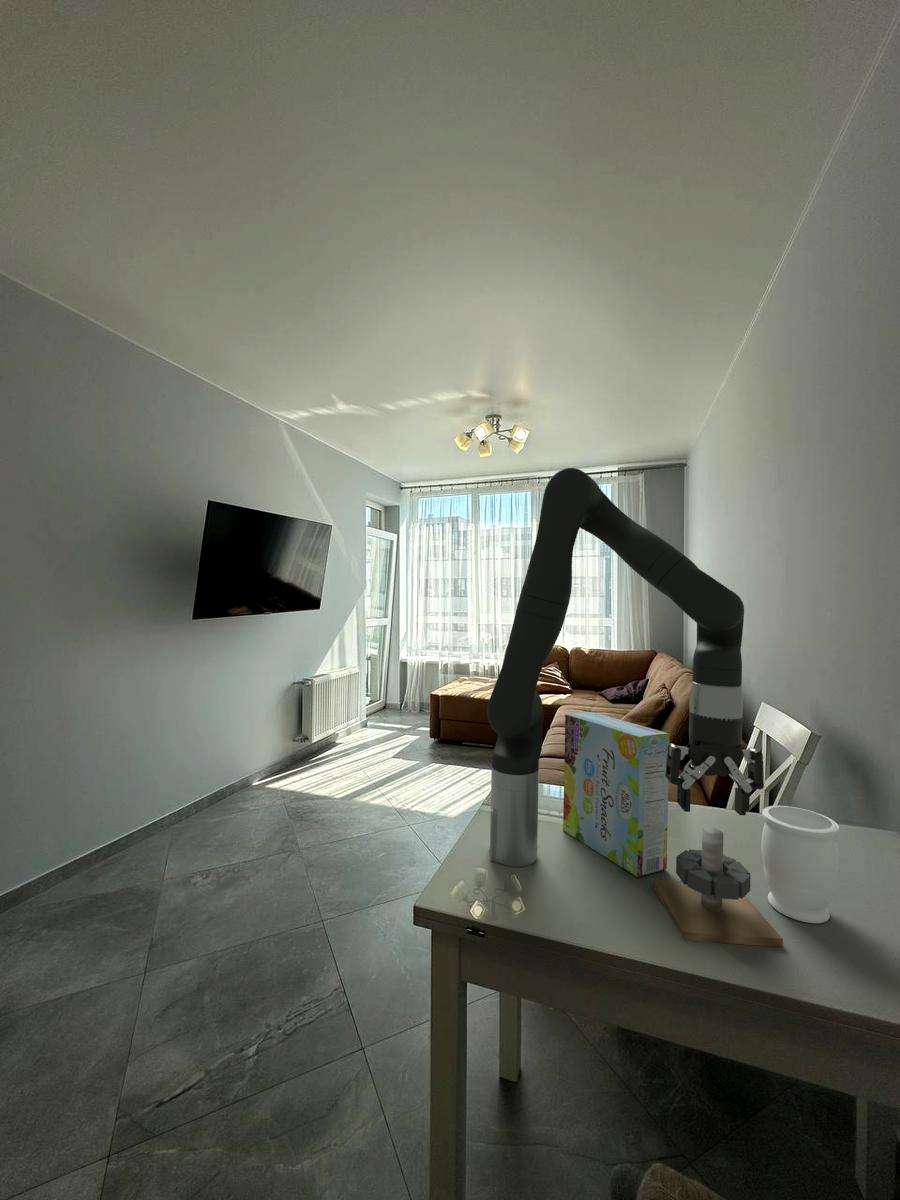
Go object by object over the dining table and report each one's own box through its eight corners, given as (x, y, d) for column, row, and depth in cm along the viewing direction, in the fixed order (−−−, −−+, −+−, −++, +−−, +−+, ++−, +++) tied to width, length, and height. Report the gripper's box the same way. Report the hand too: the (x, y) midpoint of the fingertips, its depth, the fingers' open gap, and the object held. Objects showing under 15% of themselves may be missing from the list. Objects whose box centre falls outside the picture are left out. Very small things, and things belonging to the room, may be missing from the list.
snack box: (671, 870, 93) (673, 732, 93) (637, 881, 89) (639, 737, 89) (590, 822, 112) (592, 709, 112) (560, 829, 108) (561, 712, 108)
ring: (692, 896, 75) (692, 881, 75) (668, 862, 85) (669, 848, 85) (761, 901, 74) (761, 885, 74) (729, 865, 84) (729, 851, 84)
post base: (683, 940, 73) (685, 850, 73) (652, 886, 87) (653, 811, 87) (782, 947, 72) (784, 856, 72) (735, 891, 86) (736, 815, 86)
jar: (811, 936, 75) (812, 837, 75) (746, 898, 84) (747, 809, 84) (852, 919, 79) (854, 825, 79) (786, 884, 88) (787, 800, 88)
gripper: (678, 714, 77) (675, 819, 77) (775, 719, 75) (772, 825, 75) (661, 704, 84) (659, 799, 84) (749, 708, 83) (746, 804, 83)
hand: (712, 811), depth 80 cm, fingers open, 8 cm apart
